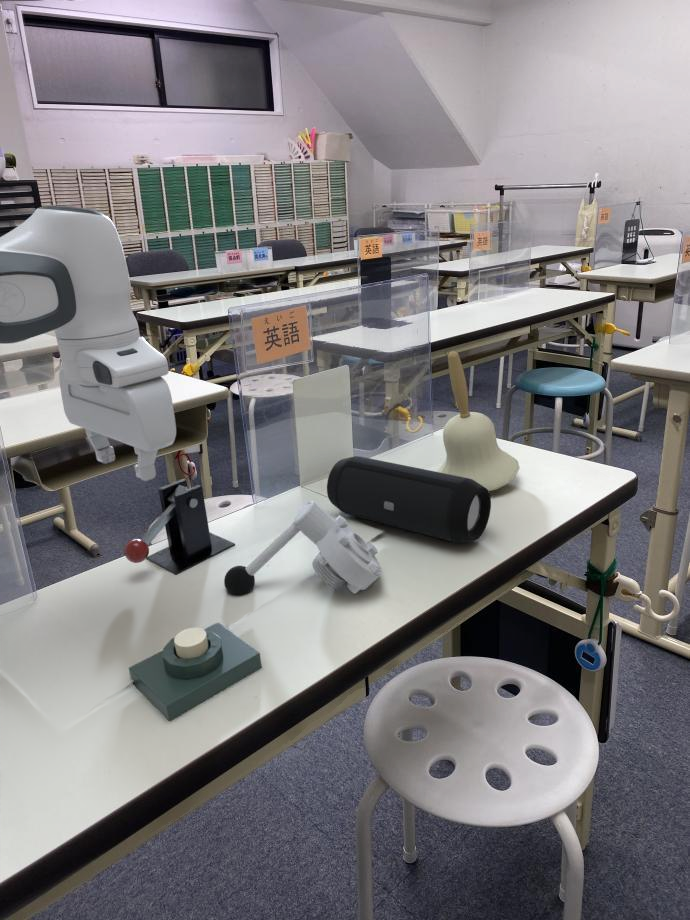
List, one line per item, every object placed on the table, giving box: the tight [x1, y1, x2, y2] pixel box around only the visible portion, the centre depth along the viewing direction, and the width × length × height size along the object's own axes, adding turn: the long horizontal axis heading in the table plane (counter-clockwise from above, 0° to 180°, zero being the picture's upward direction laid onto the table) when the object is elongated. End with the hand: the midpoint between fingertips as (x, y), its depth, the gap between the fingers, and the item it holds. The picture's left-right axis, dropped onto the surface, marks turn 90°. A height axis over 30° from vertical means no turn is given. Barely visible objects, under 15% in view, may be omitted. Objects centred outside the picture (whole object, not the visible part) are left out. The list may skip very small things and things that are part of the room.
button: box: [173, 627, 208, 659], centre depth 77 cm, size 4×4×2 cm
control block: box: [128, 622, 263, 722], centre depth 78 cm, size 12×9×4 cm
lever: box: [123, 485, 189, 564], centre depth 100 cm, size 13×3×3 cm
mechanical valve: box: [223, 500, 383, 596], centre depth 94 cm, size 10×18×15 cm
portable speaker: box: [326, 455, 492, 544], centre depth 109 cm, size 26×10×10 cm, turn 54°
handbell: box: [436, 350, 520, 492], centre depth 120 cm, size 15×15×25 cm
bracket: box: [145, 478, 236, 576], centre depth 103 cm, size 11×8×12 cm
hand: (126, 469), depth 83 cm, fingers open, 8 cm apart
